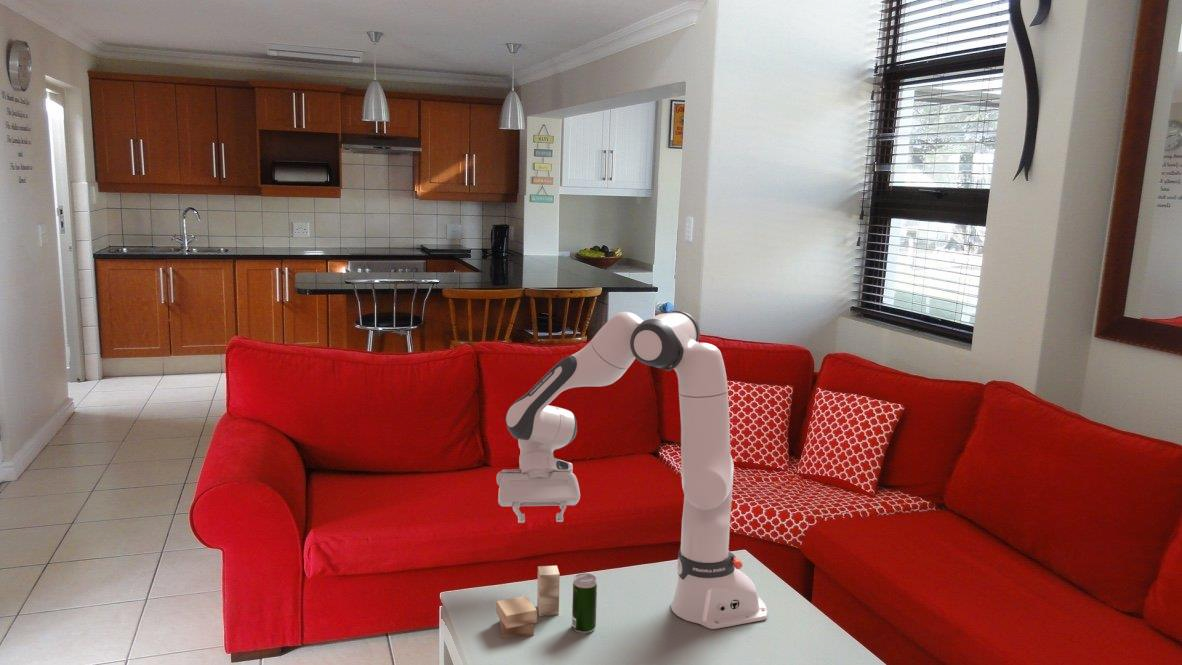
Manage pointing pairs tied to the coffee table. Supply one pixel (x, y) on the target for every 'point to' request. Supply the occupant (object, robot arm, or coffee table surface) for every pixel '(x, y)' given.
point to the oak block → (516, 612)
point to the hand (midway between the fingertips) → (540, 521)
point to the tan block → (548, 590)
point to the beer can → (584, 603)
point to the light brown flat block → (517, 630)
